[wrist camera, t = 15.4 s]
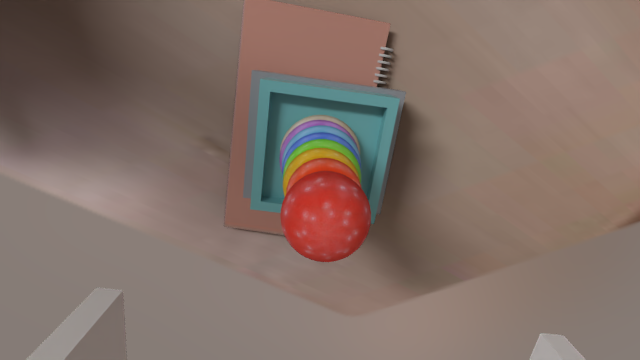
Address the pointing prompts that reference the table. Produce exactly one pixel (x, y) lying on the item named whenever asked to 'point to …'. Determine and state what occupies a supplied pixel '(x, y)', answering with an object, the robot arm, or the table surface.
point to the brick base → (317, 99)
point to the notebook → (295, 59)
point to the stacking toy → (323, 189)
